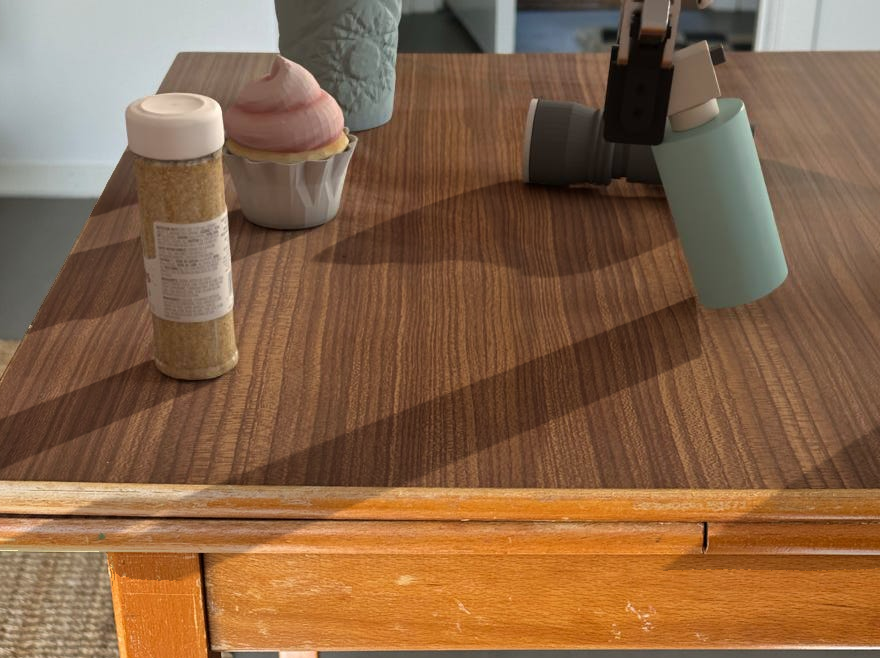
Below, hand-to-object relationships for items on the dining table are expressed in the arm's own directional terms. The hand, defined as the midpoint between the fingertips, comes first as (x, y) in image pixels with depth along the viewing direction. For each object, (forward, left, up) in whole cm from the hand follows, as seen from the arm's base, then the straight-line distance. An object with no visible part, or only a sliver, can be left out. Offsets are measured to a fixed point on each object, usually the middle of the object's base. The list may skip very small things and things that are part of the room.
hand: (632, 131), depth 72 cm
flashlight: (+10, -15, -10) cm, 21 cm away
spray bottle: (-2, -1, -3) cm, 4 cm away
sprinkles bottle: (+10, +23, -10) cm, 27 cm away
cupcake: (+23, +5, -10) cm, 26 cm away
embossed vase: (+36, -12, -10) cm, 39 cm away
